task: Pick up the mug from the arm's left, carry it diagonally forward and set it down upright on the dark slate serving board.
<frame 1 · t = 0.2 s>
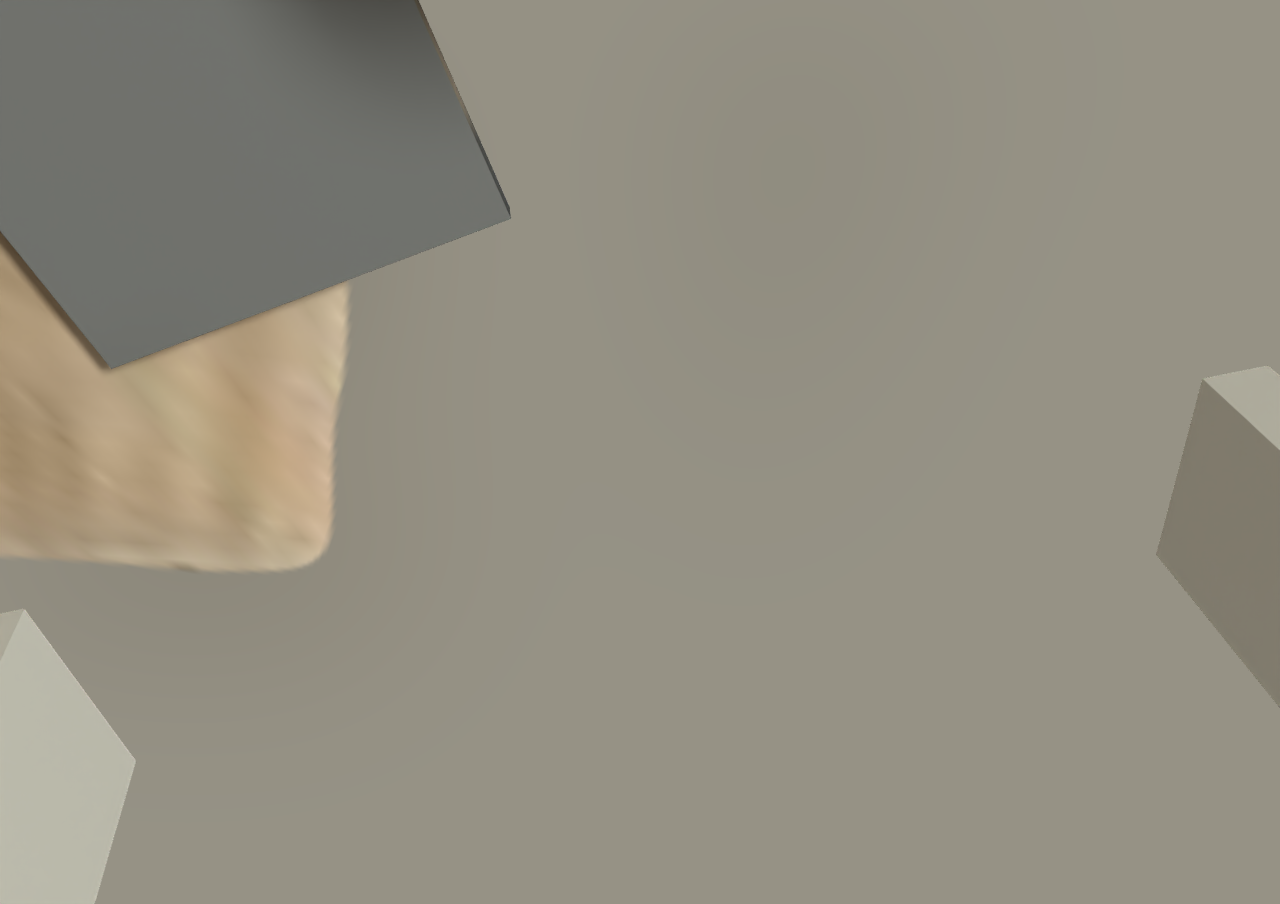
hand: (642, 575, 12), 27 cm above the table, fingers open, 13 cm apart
slate board: (186, 78, 33), on the table
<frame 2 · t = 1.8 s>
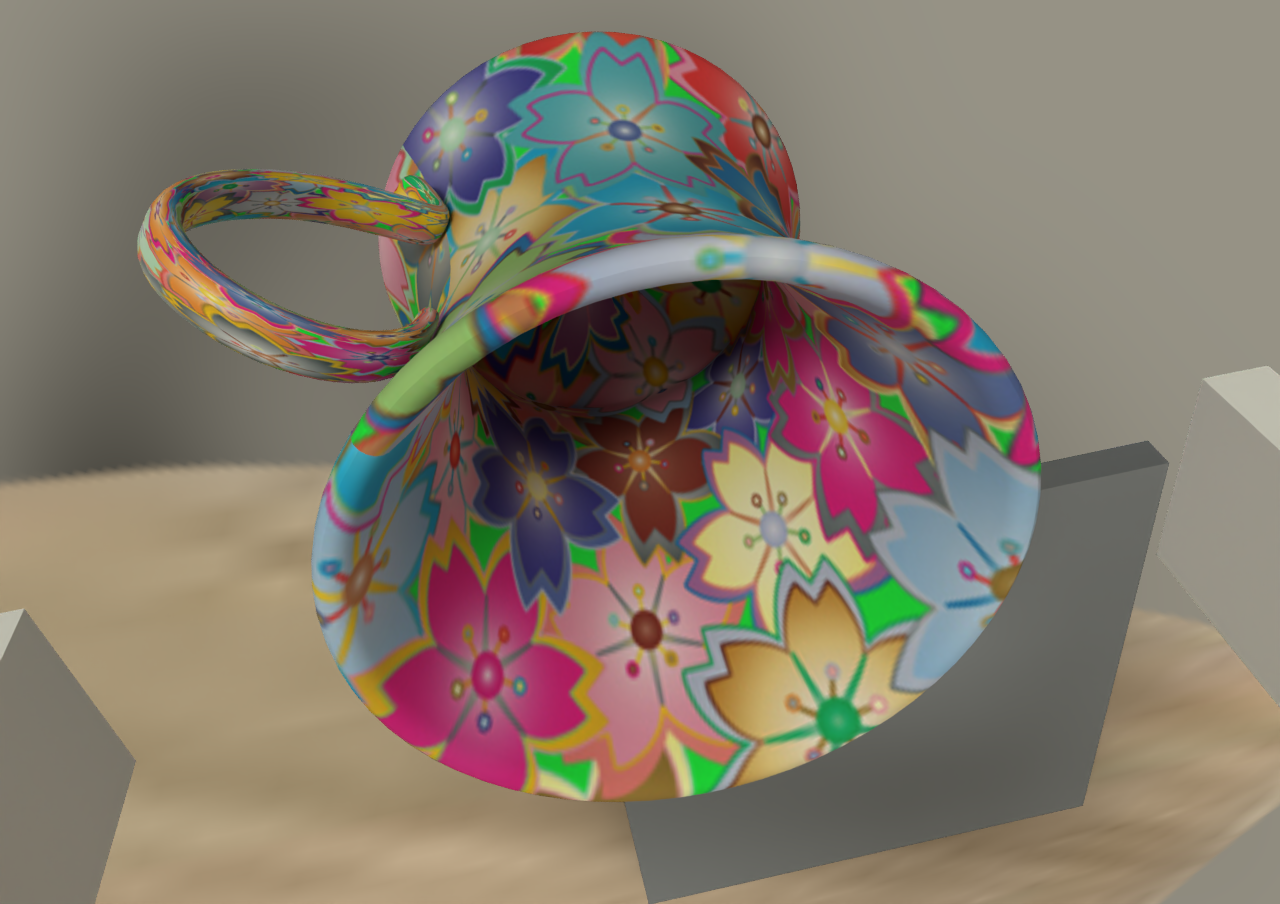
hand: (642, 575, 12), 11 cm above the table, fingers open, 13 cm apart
slate board: (860, 690, 32), on the table
mug: (533, 196, 21), on the table
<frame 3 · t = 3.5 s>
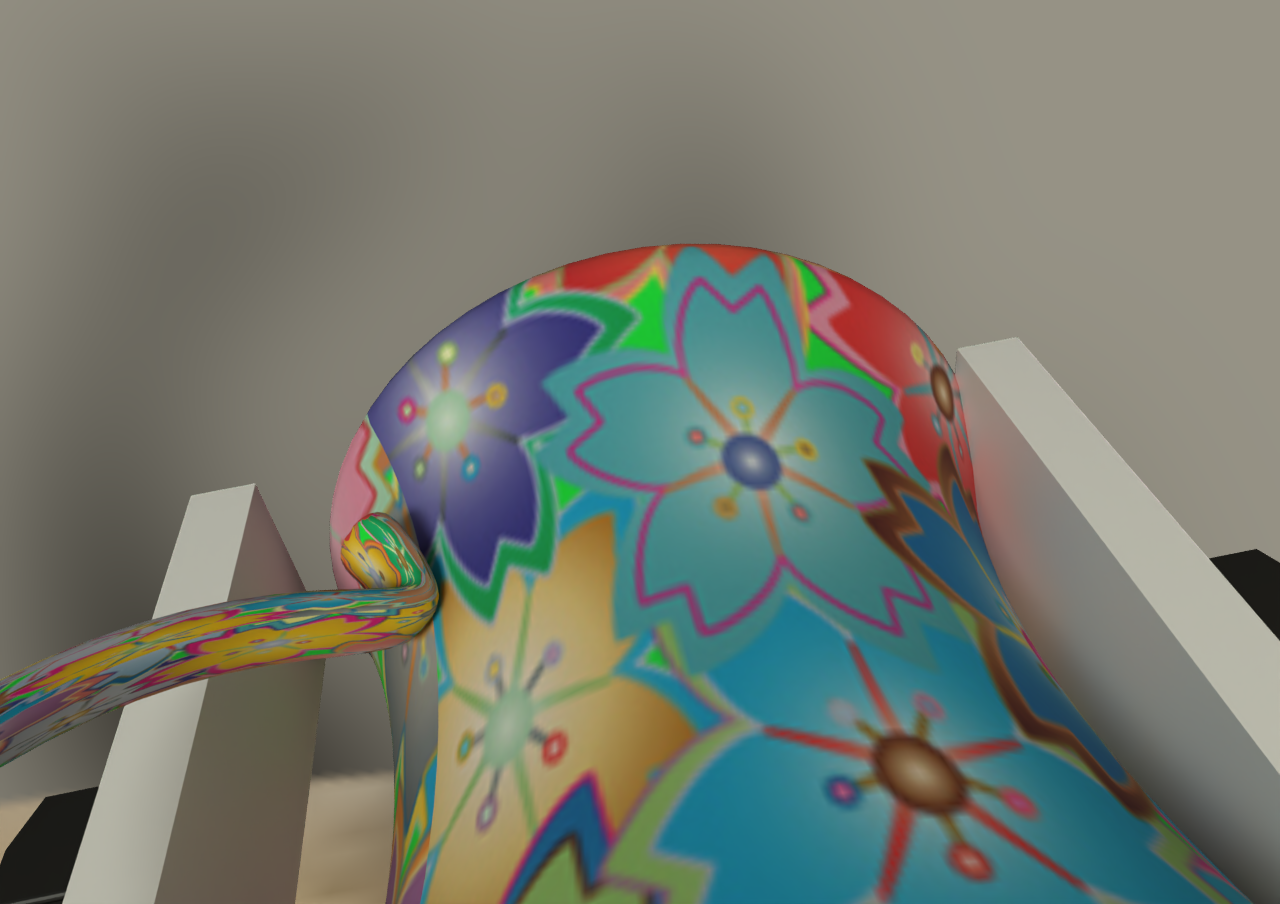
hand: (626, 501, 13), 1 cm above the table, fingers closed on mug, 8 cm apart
mug: (569, 449, 14), on the table, touching gripper
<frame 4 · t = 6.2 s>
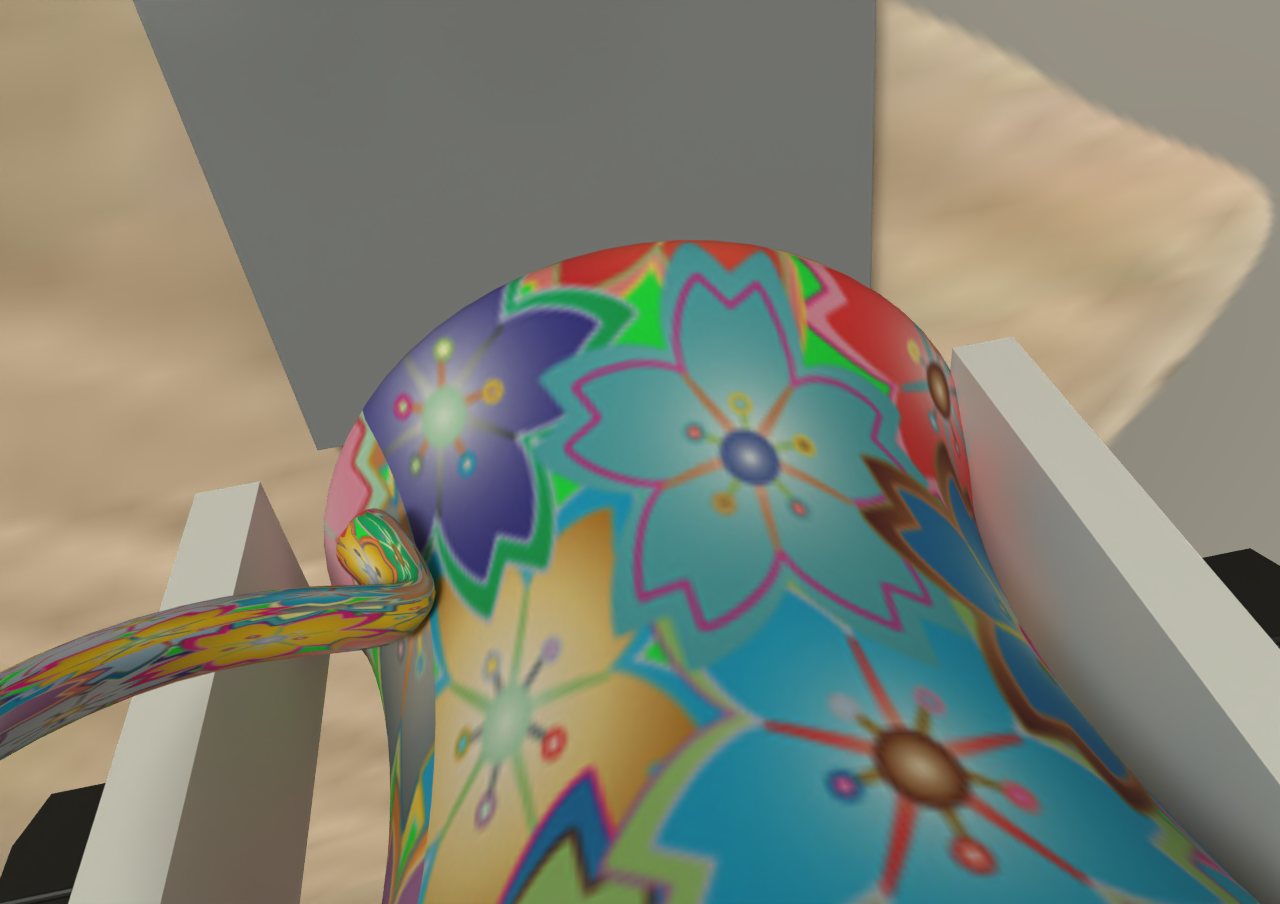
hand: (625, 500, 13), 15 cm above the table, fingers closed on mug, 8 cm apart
slate board: (542, 109, 25), on the table
mug: (565, 447, 14), point 14 cm above the table, touching gripper
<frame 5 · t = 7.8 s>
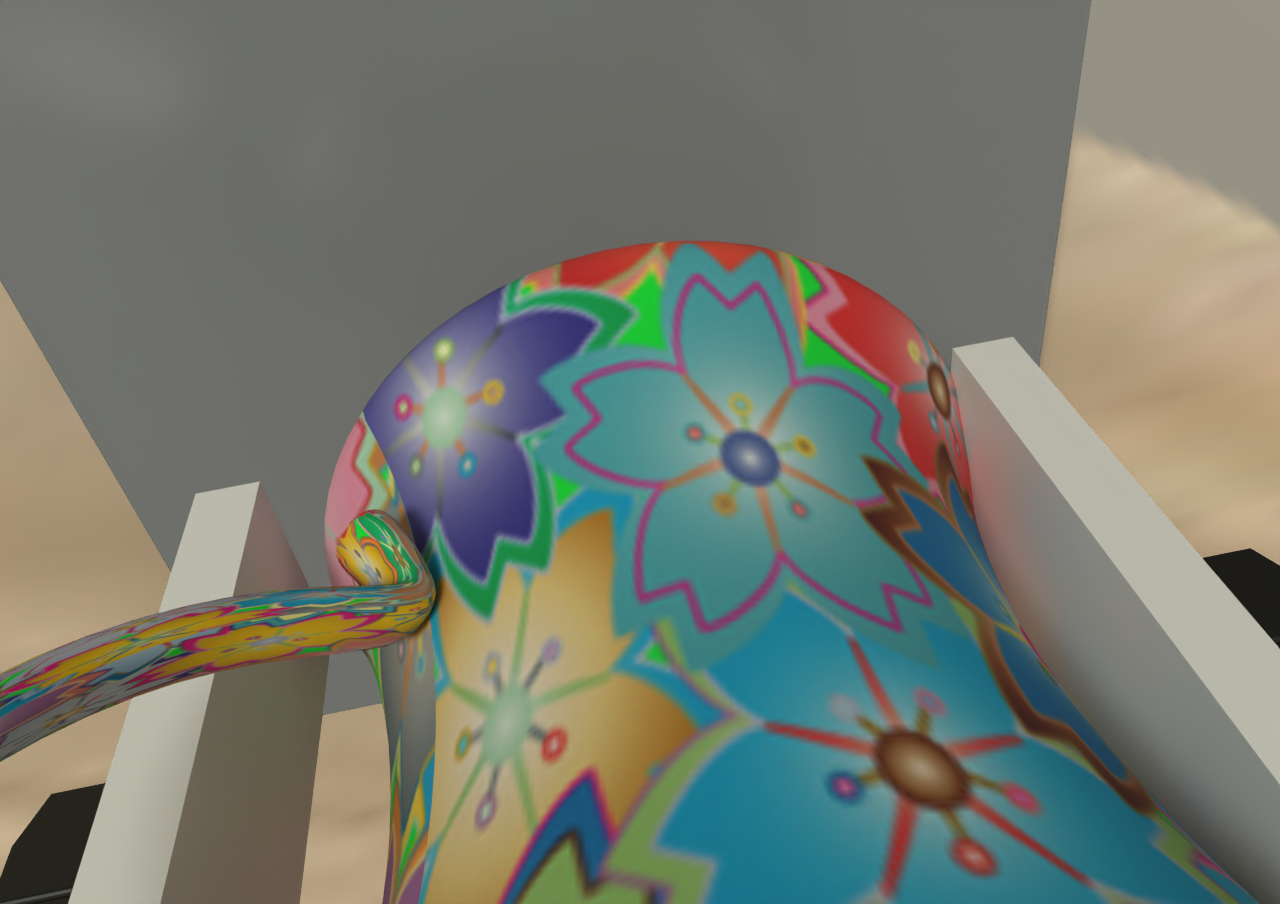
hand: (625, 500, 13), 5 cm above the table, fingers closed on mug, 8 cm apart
slate board: (573, 293, 17), on the table
mug: (565, 447, 14), point 4 cm above the table, touching gripper
when the fingers open (3 cm above the table, at t = 9.1 s): mug drops 1 cm, resting on slate board.
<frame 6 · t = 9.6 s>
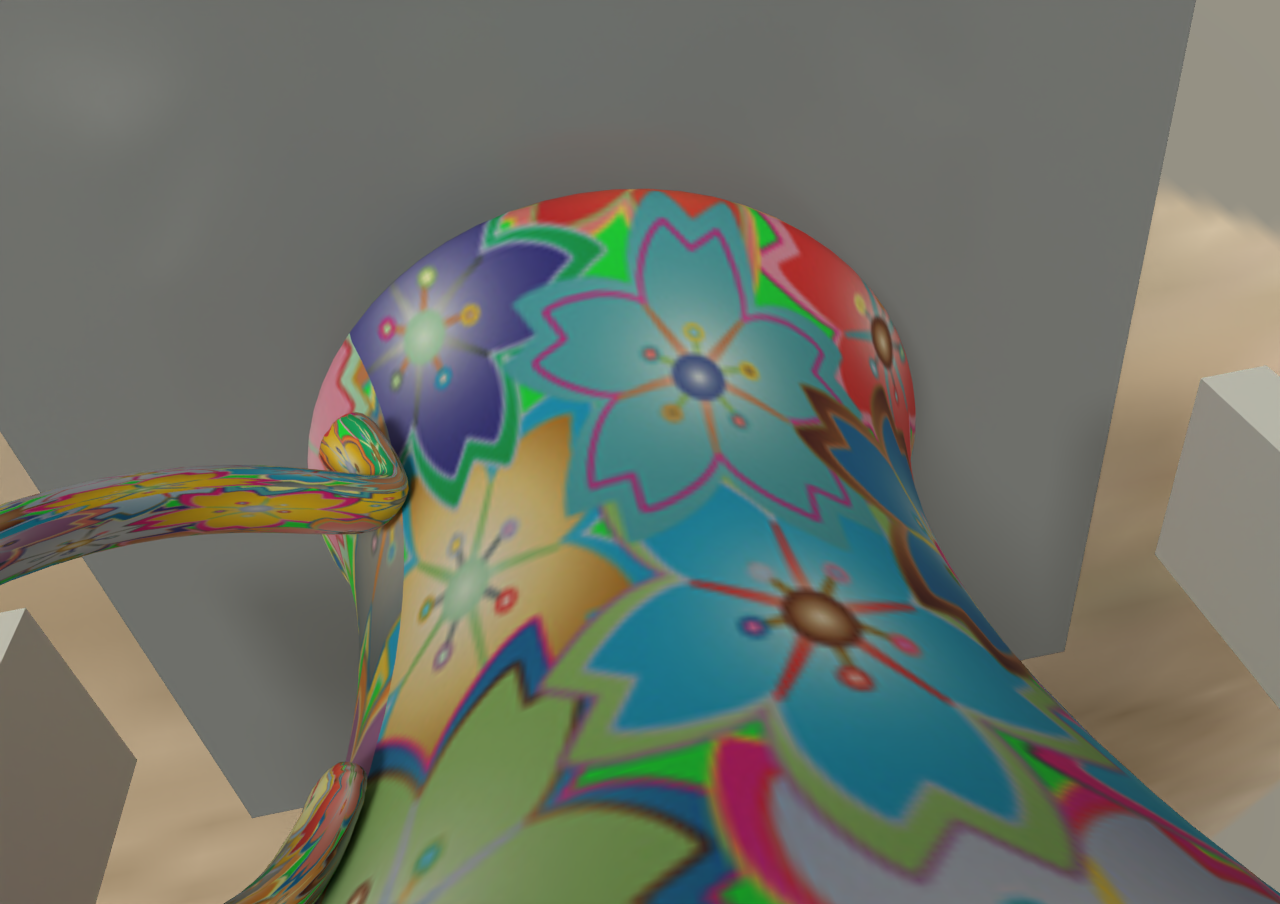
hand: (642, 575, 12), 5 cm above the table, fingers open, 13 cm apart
slate board: (595, 361, 15), on the table
mug: (537, 387, 15), point 1 cm above the table, touching slate board
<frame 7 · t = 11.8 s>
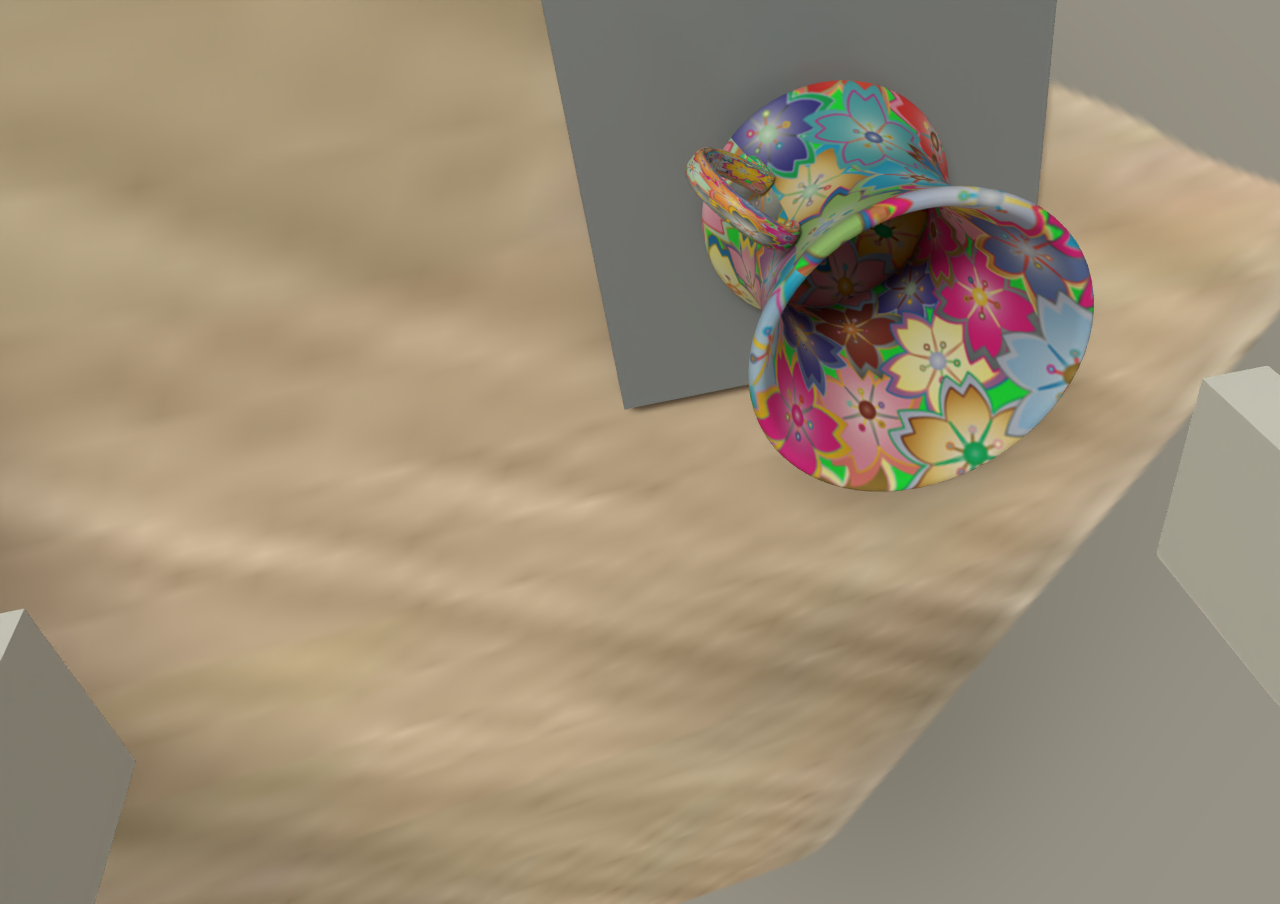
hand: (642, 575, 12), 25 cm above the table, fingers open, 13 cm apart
slate board: (808, 165, 36), on the table
mug: (787, 172, 35), point 1 cm above the table, touching slate board
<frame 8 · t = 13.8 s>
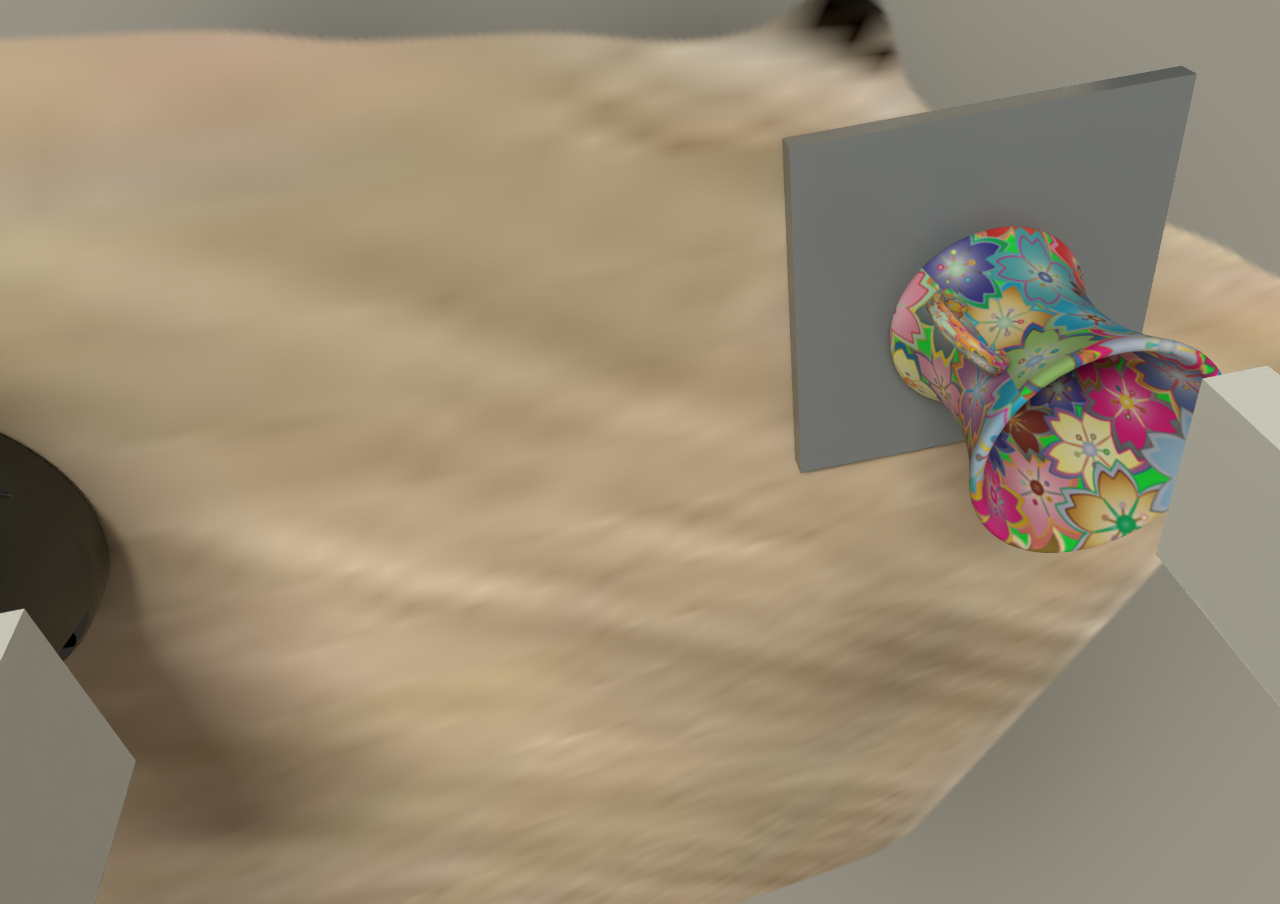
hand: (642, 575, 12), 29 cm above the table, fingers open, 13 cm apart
slate board: (968, 283, 44), on the table
mug: (955, 290, 43), point 1 cm above the table, touching slate board
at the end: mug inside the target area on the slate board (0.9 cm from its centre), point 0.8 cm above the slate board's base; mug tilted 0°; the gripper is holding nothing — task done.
